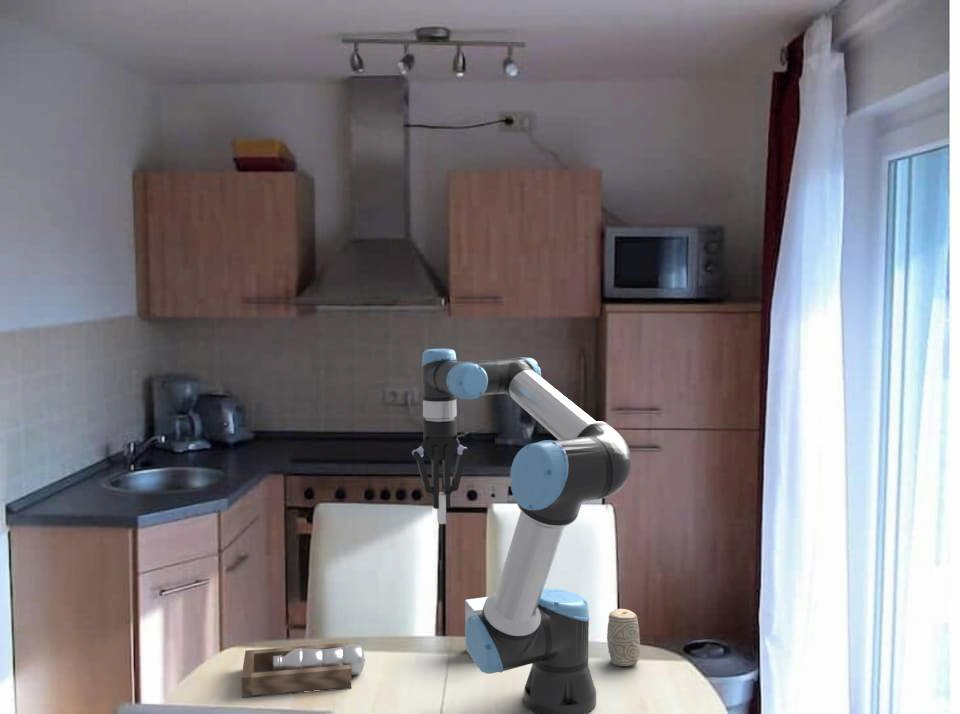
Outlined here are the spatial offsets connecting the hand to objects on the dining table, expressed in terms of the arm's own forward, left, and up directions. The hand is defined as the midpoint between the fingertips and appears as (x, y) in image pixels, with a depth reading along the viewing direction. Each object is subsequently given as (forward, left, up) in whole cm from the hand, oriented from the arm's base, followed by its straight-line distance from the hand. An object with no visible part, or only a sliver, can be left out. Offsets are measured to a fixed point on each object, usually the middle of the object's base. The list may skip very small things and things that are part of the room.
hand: (441, 522), depth 211 cm
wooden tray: (+23, +24, -34) cm, 47 cm away
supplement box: (-5, -10, -34) cm, 35 cm away
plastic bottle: (+12, +13, -30) cm, 35 cm away
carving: (-34, -24, -34) cm, 53 cm away
